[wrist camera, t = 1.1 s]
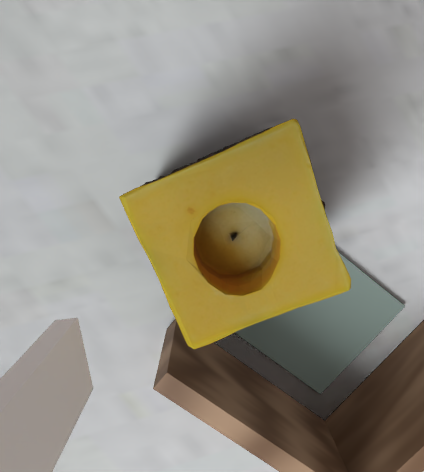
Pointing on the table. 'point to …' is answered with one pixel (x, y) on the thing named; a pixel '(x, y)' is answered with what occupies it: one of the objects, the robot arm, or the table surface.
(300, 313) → the mat
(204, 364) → the corner walls
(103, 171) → the table surface
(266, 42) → the table surface
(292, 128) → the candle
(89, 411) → the table surface
